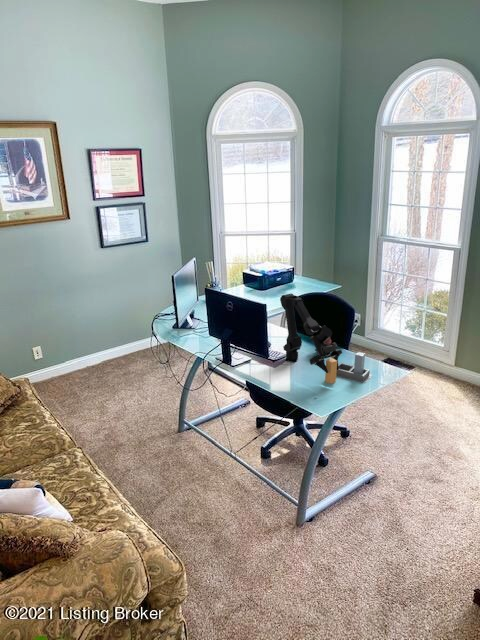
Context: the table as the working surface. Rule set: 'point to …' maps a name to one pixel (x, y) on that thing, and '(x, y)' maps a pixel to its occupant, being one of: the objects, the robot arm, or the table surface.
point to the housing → (352, 373)
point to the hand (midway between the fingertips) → (332, 371)
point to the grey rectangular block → (359, 363)
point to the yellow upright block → (331, 370)
